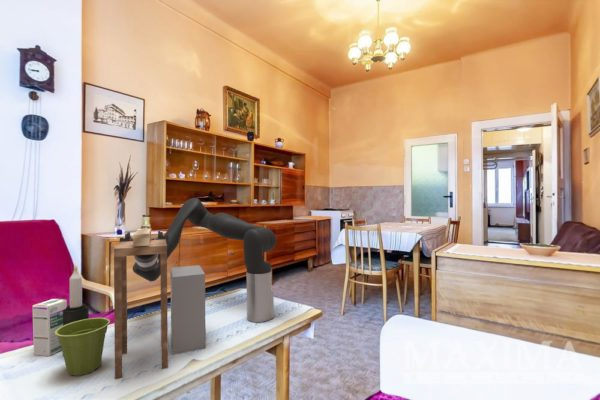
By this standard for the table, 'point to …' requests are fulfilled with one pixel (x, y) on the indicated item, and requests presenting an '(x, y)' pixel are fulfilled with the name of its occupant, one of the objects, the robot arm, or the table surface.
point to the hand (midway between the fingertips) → (144, 233)
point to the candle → (75, 301)
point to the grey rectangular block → (187, 309)
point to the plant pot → (83, 344)
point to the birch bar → (142, 237)
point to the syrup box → (47, 326)
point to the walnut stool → (121, 297)
